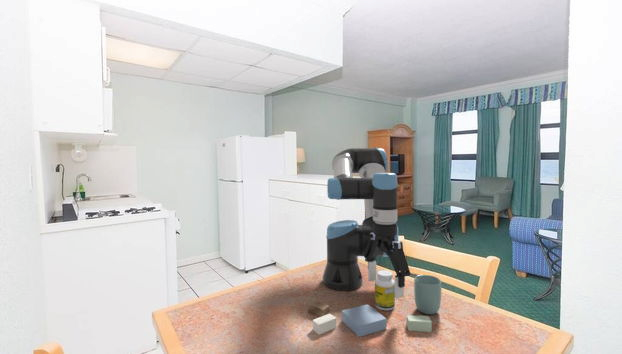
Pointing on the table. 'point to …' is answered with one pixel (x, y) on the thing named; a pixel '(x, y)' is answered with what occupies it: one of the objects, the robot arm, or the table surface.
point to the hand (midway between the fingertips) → (384, 288)
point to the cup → (427, 293)
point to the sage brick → (419, 323)
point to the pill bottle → (384, 291)
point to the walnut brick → (318, 308)
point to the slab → (363, 320)
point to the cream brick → (324, 324)
